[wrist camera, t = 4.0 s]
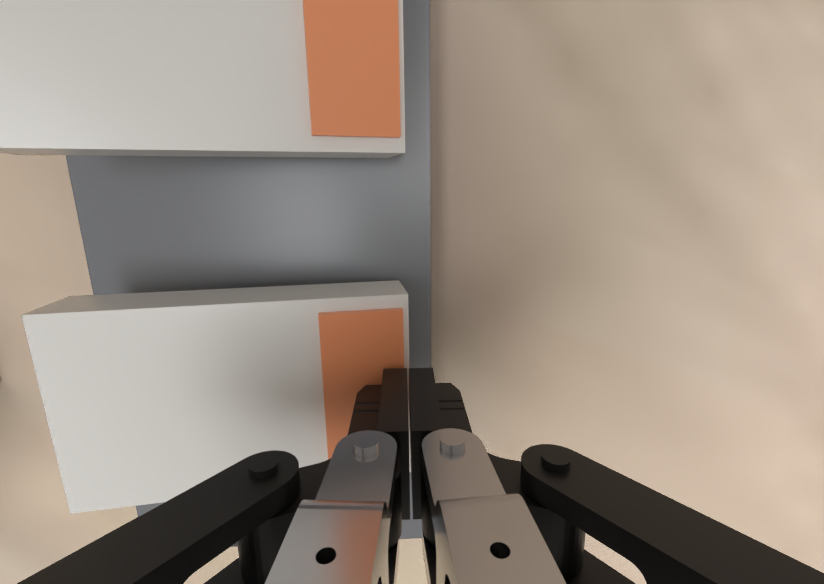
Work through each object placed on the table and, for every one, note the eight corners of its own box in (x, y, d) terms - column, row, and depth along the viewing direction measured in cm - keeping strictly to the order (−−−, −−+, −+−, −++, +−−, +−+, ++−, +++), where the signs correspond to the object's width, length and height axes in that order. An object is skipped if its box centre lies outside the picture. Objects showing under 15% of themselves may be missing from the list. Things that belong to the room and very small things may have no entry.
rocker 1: (-45, -122, 10) (-135, -209, 7) (382, -54, 12) (403, -104, 10) (18, 155, 11) (-43, 146, 9) (388, 158, 14) (408, 152, 12)
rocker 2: (69, 296, 13) (14, 318, 10) (399, 280, 14) (409, 296, 12) (107, 469, 14) (64, 520, 12) (402, 437, 16) (412, 476, 13)
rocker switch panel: (43, -310, 13) (-103, -517, 9) (421, -299, 14) (432, -491, 10) (180, 498, 20) (130, 571, 16) (426, 489, 21) (433, 557, 17)
